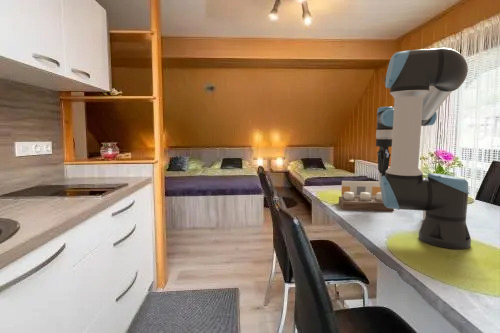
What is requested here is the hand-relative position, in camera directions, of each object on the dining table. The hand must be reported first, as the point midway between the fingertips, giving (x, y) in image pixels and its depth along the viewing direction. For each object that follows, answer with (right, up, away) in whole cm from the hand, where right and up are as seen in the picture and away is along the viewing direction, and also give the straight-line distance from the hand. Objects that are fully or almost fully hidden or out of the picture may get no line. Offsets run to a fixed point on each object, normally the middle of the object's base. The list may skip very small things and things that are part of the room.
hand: (382, 185), depth 146 cm
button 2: (-8, -8, +2) cm, 12 cm away
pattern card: (-7, -10, +11) cm, 17 cm away
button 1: (0, -8, +1) cm, 8 cm away
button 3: (-16, -8, +3) cm, 18 cm away
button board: (-8, -11, +2) cm, 14 cm away
